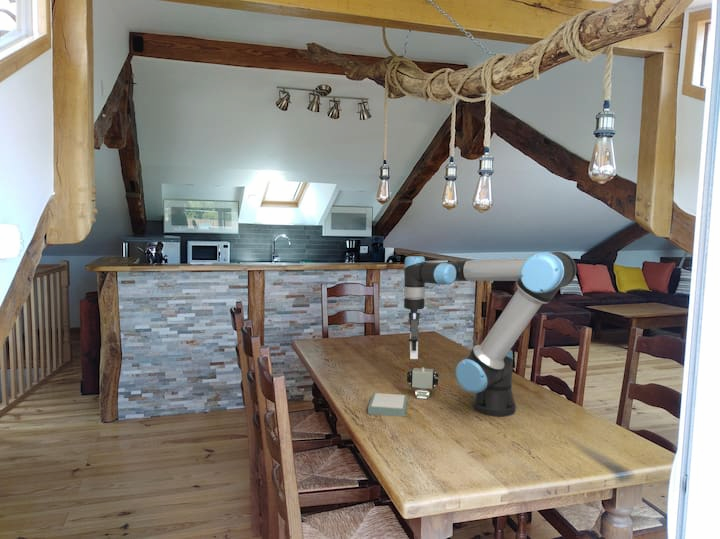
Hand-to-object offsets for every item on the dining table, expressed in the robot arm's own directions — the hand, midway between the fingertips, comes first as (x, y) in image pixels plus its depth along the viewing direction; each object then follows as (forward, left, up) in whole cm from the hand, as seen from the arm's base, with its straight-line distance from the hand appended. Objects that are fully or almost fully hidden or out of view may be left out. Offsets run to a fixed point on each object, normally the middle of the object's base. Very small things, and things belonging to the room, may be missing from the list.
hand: (413, 354), depth 193 cm
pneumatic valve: (-4, -4, -18) cm, 19 cm away
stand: (+8, +9, -18) cm, 22 cm away
